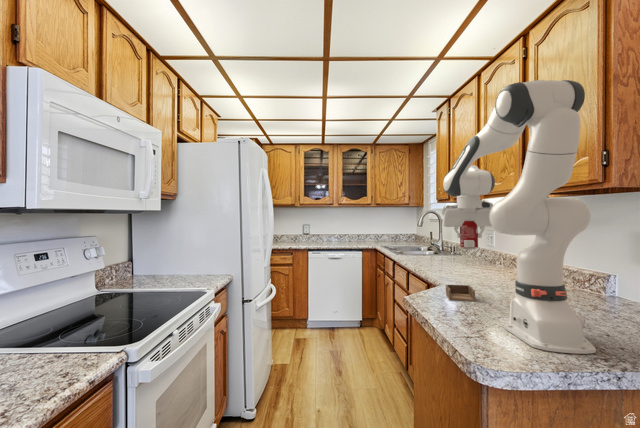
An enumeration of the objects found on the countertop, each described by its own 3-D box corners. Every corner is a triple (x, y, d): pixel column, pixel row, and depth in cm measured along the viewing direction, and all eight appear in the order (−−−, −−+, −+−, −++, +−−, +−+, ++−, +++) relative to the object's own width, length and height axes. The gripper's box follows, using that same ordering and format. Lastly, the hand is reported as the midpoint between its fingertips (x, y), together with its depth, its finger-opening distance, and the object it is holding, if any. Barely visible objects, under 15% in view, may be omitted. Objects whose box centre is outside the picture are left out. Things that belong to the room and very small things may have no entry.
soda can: (476, 250, 126) (475, 220, 126) (458, 249, 130) (457, 220, 130) (479, 248, 131) (479, 220, 131) (462, 248, 135) (461, 220, 135)
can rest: (475, 301, 124) (474, 290, 124) (449, 300, 126) (448, 289, 126) (469, 295, 133) (469, 285, 133) (445, 294, 136) (445, 284, 136)
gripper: (442, 205, 130) (443, 238, 130) (497, 203, 125) (498, 238, 125) (441, 205, 136) (441, 237, 136) (493, 204, 131) (493, 237, 131)
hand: (469, 237), depth 130 cm, fingers closed on soda can, 6 cm apart
